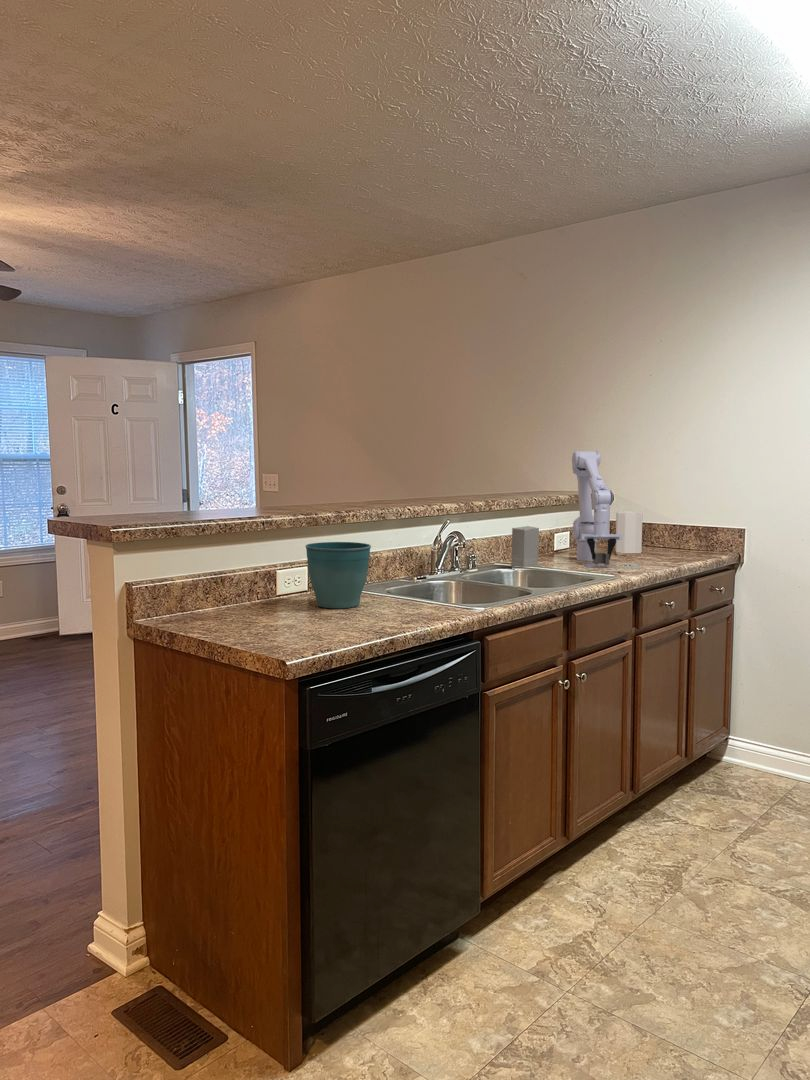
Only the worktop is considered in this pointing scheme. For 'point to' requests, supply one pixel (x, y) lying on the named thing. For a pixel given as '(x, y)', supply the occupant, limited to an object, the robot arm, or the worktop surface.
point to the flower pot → (338, 572)
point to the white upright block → (629, 531)
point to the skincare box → (525, 546)
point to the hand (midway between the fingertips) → (600, 559)
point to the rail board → (611, 565)
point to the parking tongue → (566, 563)
